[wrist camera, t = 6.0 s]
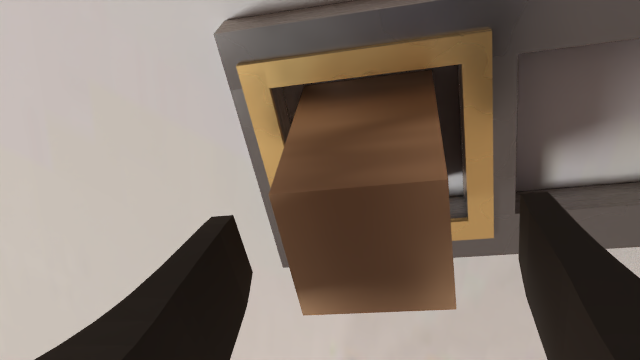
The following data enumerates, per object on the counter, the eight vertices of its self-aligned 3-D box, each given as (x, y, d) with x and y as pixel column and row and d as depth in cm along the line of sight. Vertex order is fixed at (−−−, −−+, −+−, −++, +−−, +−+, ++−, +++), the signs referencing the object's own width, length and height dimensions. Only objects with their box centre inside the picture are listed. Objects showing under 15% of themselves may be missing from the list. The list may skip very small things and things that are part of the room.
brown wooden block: (431, 69, 16) (447, 179, 11) (439, 177, 19) (456, 309, 14) (304, 85, 17) (268, 194, 12) (326, 187, 19) (303, 315, 14)
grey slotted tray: (796, -68, 13) (834, -57, 12) (717, 217, 18) (738, 245, 17) (224, 20, 16) (211, 36, 15) (288, 246, 21) (282, 271, 20)
